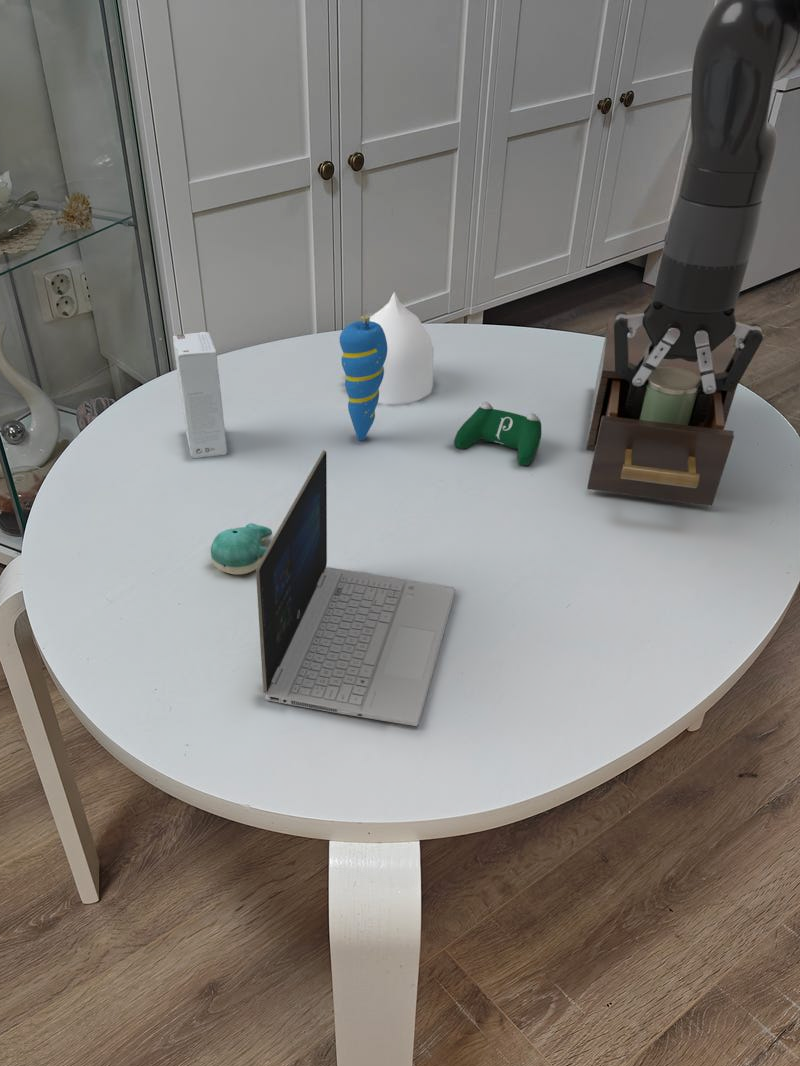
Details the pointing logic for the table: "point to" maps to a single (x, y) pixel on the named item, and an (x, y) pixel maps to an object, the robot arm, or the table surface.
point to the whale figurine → (239, 548)
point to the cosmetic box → (200, 394)
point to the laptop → (343, 623)
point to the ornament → (363, 370)
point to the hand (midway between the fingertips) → (663, 419)
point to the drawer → (659, 453)
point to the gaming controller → (502, 431)
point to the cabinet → (636, 352)
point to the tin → (670, 396)
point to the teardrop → (404, 355)
